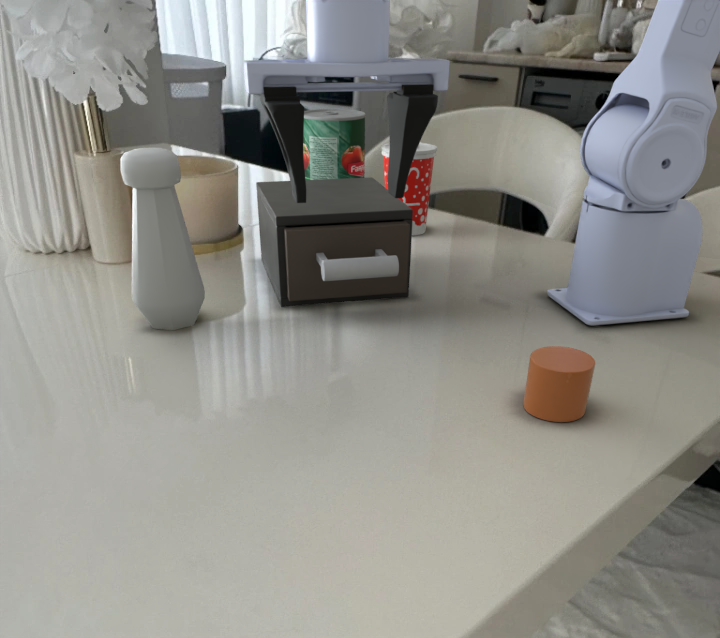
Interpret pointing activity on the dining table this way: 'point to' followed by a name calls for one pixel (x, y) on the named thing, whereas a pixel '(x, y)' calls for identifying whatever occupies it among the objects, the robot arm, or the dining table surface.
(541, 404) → the cylinder
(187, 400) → the dining table surface
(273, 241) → the open desk drawer box
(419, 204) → the beverage cup
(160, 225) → the salt shaker
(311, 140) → the canned tomato
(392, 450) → the dining table surface
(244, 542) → the dining table surface
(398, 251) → the pod drawer
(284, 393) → the dining table surface
